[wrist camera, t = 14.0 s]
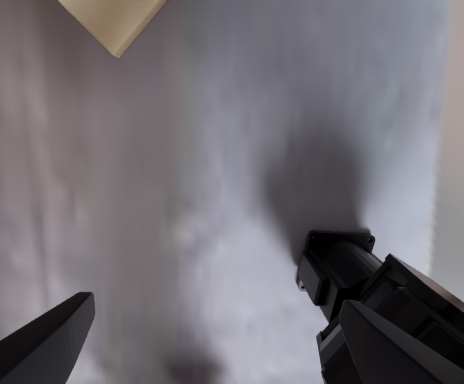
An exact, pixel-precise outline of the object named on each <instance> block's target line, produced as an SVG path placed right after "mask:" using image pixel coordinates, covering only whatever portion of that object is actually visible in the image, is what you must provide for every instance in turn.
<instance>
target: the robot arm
mask: <svg viewBox="0 0 464 384" xmlns="http://www.w3.org/2000/svg"><path fill="white" fill-rule="evenodd" d="M313 235H316V236H315V237H314V238H312V236H313ZM369 238H370V240H369V241H368V239H369ZM374 243H375V237H374V236H372V235H371V234H364V233H347V232H331V231H315V230H314V231H310V232H309V234H308V237H307V242H306V247H305V251H304V252H303V253H302V257H301V261H300V266H299V271H298V276H299V279H298V284H297V286H298V288H299V290H300V291H307V293H308V295H309V297H310V298H311V300H312V302H313V304H314V305H315V306H319V307H320V308H321V310H322V312H323V314H324V315H325V317H326V319H327V321H328V323H329V325H328V326H327V327H326V328H325V329H324V330H323V331H321V332H320V333H319V334H318V335H317V336H316V338H317V344H318V350H319V356H320V362H321V368H322V370H321V373H322V378H323V380H324V384H464V302H462V301H461V300H460V299H458V298H457V297H455V296H454V295H453V294H451V293H450V292H448V291H447V290H446V289H444V288H443V287H441V286H440V285H439V284H437V283H436V282H435V281H433V280H432V279H430V278H429V277H427V276H425V275H424V274H422V273H421V272H419V271H417V270H416V269H414V268H413V267H411V266H409V265H408V264H406V263H405V262H403V261H401V260H400V259H398V258H397V257H395V256H393V255H392V254H390V253H389V254H388V256H387V257H386V258H385V261H384V263H383V262H382V261H381V260H380V259H378V258H377V257H376V256H375V255H374V254H373V253H372V249H373V246H374ZM302 285H304V286H302ZM94 316H95V303H94V294H93V293H92V292H79V293H77V294H75V295H74V296H72V297H70V298H69V299H67V300H65V301H64V302H62V303H61V304H59V305H57V306H56V307H54V308H52V309H51V310H49V311H48V312H46V313H44V314H43V315H41V316H39V317H38V318H36V319H35V320H33V321H31V322H30V323H28V324H26V325H25V326H23V327H22V328H20V329H18V330H17V331H15V332H13V333H12V334H10V335H9V336H7V337H5V338H4V339H2V340H0V384H65V383H66V381H67V380H68V378H69V376H70V374H71V372H72V370H73V368H74V365H75V363H76V361H77V359H78V356H79V354H80V351H81V349H82V346H83V344H84V342H85V339H86V337H87V334H88V332H89V329H90V327H91V325H92V322H93V320H94Z"/></svg>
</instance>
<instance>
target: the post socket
mask: <svg viewBox="0 0 464 384" xmlns="http://www.w3.org/2000/svg"><path fill="white" fill-rule="evenodd" d="M58 1H59V2H60V3H61V4H62V5H63V6H64V7H65V8H66V9H67V10H68V11H69V12H70V13H71V14H72V15H73V16H74V17H75V18H76V19H77V20H78V21H79V22H80V23H81V24H82V25H83V26H84V27H85V28H86V29H87V30H88V31H89V32H90V33H91V34H92V35H93V36H94V37H95V38H96V39H97V40H98V41H99V42H100V43H101V44H102V45H103V46H104V47H105V48H106V49H107V50H108V51H109V52H110V53H111V54H112V55H114V56H115V57H117V58H118V59H119V58H120V57H121V55H122V54H123V53H124V52H125V51H126V49H127V48H128V47H129V46H130V45H131V43H132V42H133V41H134V40H135V39H136V37H137V36H138V35H139V34H140V33H141V31H142V30H143V29H144V28H145V27H146V25H147V24H148V23H149V22H150V21H151V19H152V18H153V17H154V16H155V15H156V13H157V12H158V11H159V10H160V9H161V7H162V6H163V5H164V4H165V3H166V2H167V0H58Z"/></svg>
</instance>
